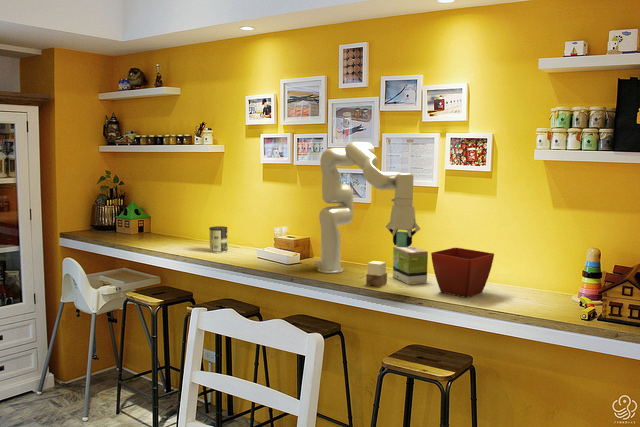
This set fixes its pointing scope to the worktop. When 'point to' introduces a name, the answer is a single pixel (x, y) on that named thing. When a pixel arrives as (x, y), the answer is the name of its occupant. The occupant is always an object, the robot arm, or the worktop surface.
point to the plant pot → (462, 270)
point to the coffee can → (218, 239)
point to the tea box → (410, 264)
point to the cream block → (376, 268)
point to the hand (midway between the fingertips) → (402, 244)
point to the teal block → (401, 239)
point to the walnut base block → (376, 280)
